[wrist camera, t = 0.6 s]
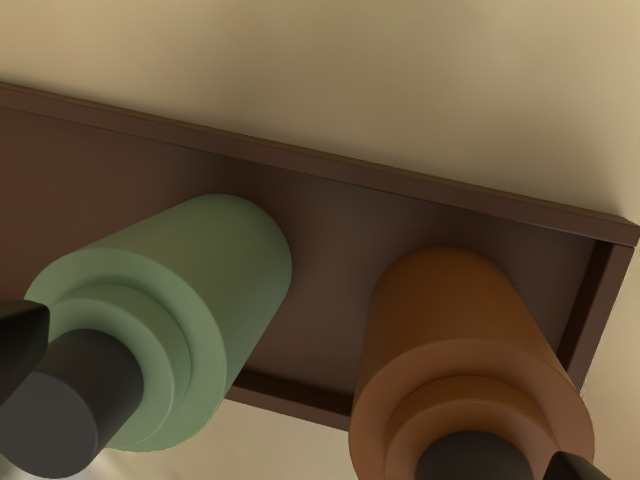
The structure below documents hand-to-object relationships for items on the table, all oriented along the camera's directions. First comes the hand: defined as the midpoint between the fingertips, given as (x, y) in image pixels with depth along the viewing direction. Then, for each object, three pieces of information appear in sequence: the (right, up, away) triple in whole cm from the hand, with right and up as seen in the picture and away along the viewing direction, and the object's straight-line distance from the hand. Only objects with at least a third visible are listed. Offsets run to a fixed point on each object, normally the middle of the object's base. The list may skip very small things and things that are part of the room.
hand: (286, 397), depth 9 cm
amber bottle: (+6, -1, +14) cm, 15 cm away
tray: (-4, +2, +15) cm, 15 cm away
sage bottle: (-4, +2, +14) cm, 15 cm away
